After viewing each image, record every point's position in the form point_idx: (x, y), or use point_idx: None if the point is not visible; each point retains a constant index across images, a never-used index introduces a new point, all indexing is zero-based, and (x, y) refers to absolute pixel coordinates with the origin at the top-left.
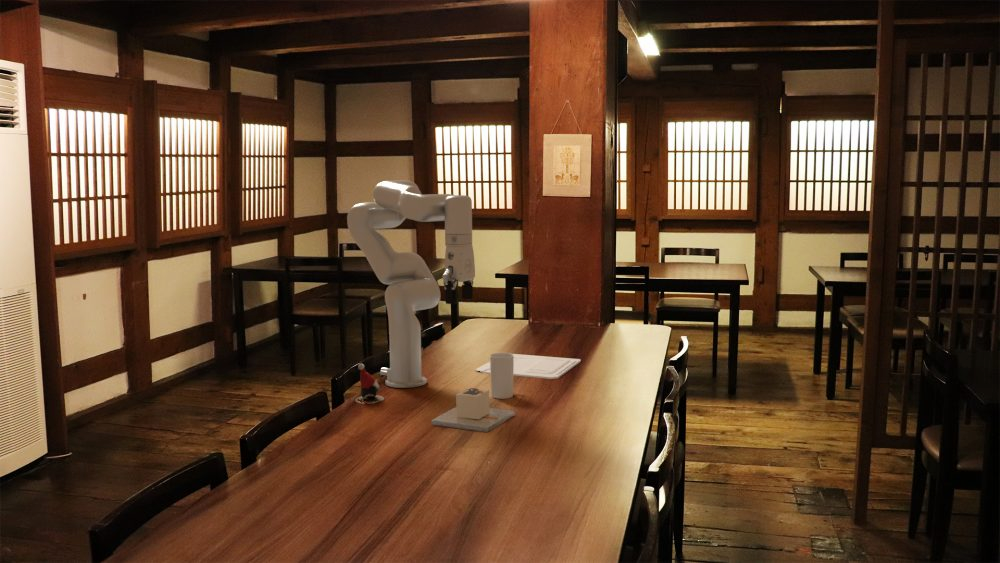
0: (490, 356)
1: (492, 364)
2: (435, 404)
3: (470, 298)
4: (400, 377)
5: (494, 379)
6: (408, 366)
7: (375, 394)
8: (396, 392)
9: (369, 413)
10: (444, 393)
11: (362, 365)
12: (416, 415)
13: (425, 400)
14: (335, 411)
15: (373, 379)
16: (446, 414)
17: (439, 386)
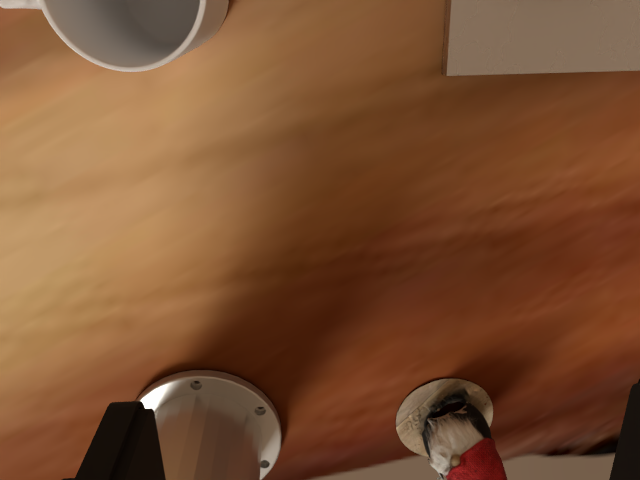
0: (181, 52)
1: (206, 24)
2: (418, 197)
3: (154, 417)
4: (259, 445)
5: (220, 8)
6: (239, 456)
7: (470, 406)
8: (327, 396)
9: (594, 334)
10: (260, 246)
11: None
12: (577, 184)
13: (381, 258)
14: (599, 427)
15: (476, 455)
16: (605, 53)
17: (177, 314)
